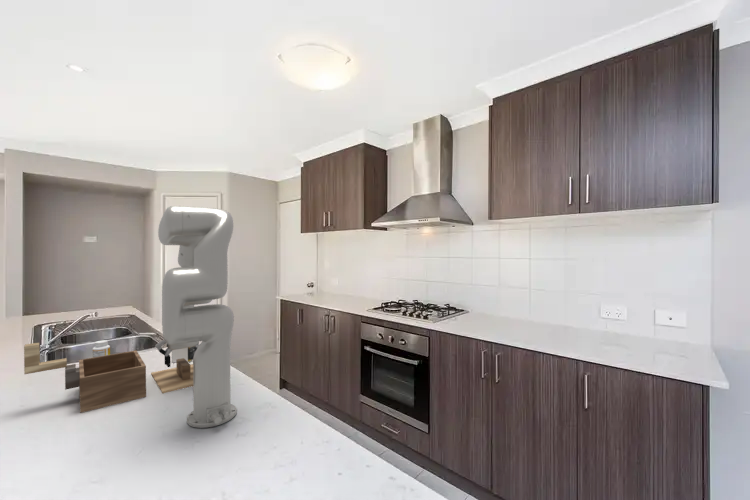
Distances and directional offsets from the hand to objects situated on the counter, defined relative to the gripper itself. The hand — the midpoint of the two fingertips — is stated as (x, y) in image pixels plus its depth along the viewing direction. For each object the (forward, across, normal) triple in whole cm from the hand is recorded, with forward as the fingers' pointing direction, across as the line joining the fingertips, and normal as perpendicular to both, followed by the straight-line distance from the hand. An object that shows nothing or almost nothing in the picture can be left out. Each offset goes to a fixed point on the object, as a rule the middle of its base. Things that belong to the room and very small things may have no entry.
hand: (183, 363), depth 126 cm
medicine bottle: (+5, -5, -21) cm, 22 cm away
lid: (+6, 0, 0) cm, 6 cm away
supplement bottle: (+5, +22, -34) cm, 41 cm away
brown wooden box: (+5, +23, 0) cm, 23 cm away
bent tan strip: (-6, +37, 0) cm, 37 cm away
